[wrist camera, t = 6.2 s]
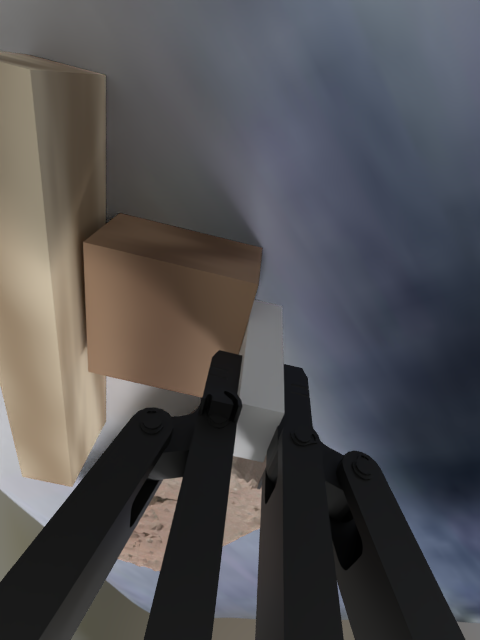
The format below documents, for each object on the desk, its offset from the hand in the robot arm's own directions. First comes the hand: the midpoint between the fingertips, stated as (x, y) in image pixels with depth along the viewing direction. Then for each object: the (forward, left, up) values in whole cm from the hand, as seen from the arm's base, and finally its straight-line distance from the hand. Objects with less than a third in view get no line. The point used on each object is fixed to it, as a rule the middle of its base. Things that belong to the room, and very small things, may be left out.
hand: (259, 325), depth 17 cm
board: (+10, +2, -2) cm, 10 cm away
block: (+4, 0, -2) cm, 5 cm away
